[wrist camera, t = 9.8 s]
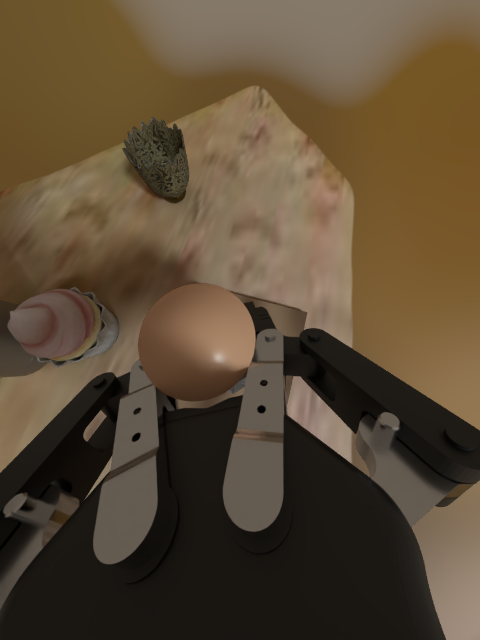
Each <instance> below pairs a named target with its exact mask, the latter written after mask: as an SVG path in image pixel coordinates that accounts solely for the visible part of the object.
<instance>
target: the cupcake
mask: <svg viewBox="0 0 480 640" xmlns="http://www.w3.org/2000/svg"><path fill="white" fill-rule="evenodd" d="M10 317H11V318H10V320H9V322H8V325H7V327H8V329H9V331H10V332H11V334H12V335H13V336H14V338H15V339H16V340H17V341H19V343H20V344H21V346H22V347H23V349H24V350H25V351H26V352H27V353H29V354H31V355H34V356H37V360H38V362H48V361H50V362H51V363H52V364H53V365H54V366H56V367H60V366H63V365H65V364H68V363H70V362H74V363H75V362H79V361H81V360H83V359H85V358H87V357H91V356H95V355H99V354H101V353H103V352H105V351H107V350H108V349H109V348H110V347H111V346H112V345H113V344H114V343H115V341H116V339H117V337H118V333H119V325H118V322H117V319H116V317H115V316H114V315H113V314H112V313H111V312H110V311H108V310H107V309H106V308H105V307H104V306H103V305H102V304H101V303H99V301H98V299H97V298H96V296H95V294H94V293H93V292H85V293H82V292H81V291H80V290H79V289H77V288H76V287H73V288H71V289H70V290H67V289H53V290H49V291H46V292H43V293H41V294H39V295H37V296H33V297H30V298H29V299H27V300H26V301H24V302H22V303H21V304H20V305H19V306H18V307H17V308H16V310H15V311H10Z"/></svg>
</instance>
